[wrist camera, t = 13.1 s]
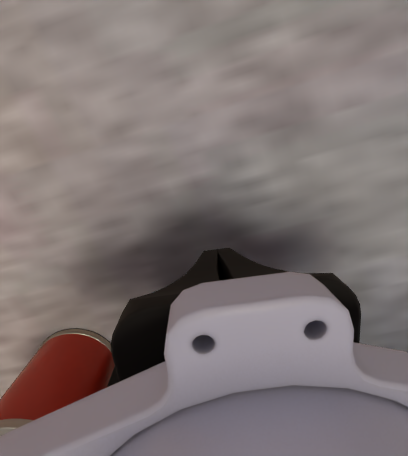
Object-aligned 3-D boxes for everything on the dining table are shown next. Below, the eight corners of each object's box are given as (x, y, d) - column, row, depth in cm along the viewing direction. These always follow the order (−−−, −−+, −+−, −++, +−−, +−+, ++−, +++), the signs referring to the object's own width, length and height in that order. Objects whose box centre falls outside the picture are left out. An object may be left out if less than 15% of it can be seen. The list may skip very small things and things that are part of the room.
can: (109, 323, 16) (61, 420, 10) (126, 387, 17) (93, 503, 12) (27, 334, 16) (-66, 436, 10) (51, 397, 18) (-18, 517, 12)
